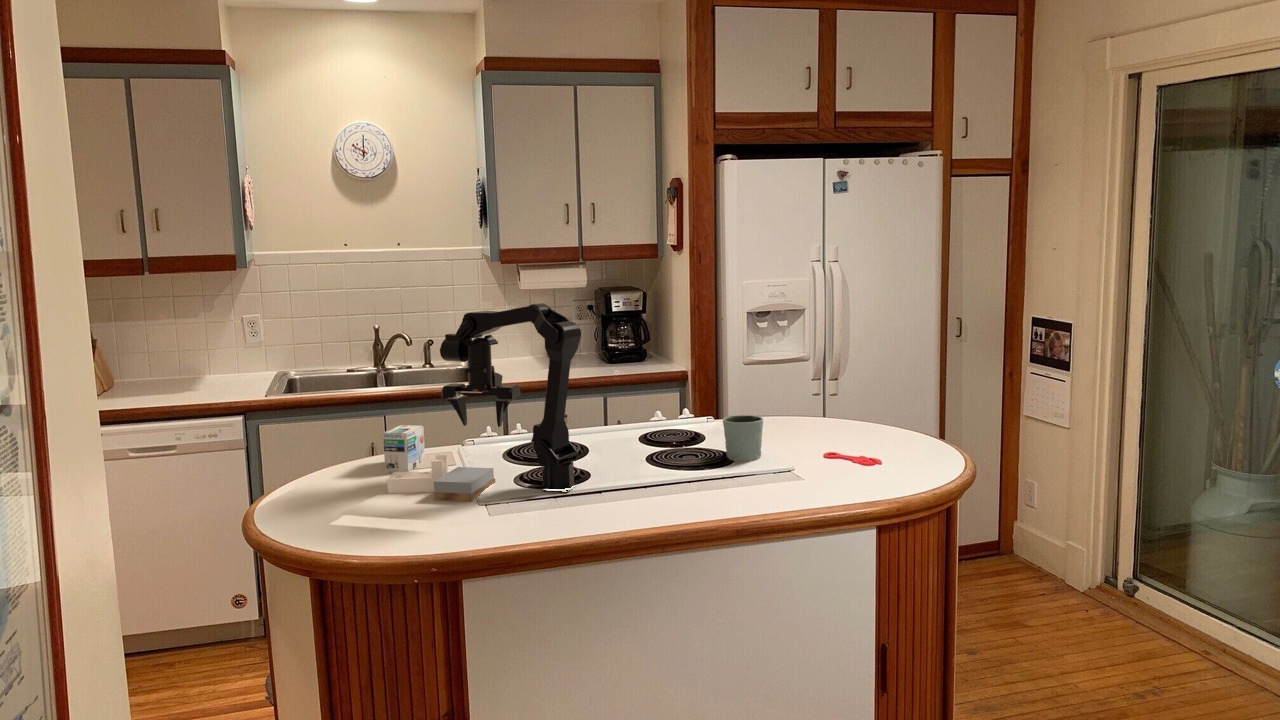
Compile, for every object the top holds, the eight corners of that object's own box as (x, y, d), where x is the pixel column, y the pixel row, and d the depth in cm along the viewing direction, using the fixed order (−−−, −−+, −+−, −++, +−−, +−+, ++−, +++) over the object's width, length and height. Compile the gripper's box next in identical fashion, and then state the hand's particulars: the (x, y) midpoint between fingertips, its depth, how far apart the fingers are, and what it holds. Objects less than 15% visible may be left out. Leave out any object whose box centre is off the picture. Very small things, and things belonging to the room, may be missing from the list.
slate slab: (493, 478, 233) (493, 468, 232) (471, 493, 219) (471, 482, 219) (458, 477, 235) (458, 466, 234) (434, 492, 221) (433, 481, 221)
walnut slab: (495, 488, 233) (495, 478, 232) (471, 504, 219) (470, 493, 219) (461, 486, 235) (460, 476, 235) (434, 502, 222) (433, 491, 221)
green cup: (769, 462, 251) (769, 416, 249) (752, 470, 242) (752, 423, 241) (734, 458, 256) (734, 413, 255) (716, 466, 248) (715, 420, 246)
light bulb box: (408, 475, 246) (406, 433, 244) (384, 474, 247) (381, 432, 246) (426, 465, 256) (424, 424, 255) (402, 464, 257) (400, 424, 256)
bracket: (448, 484, 236) (447, 454, 235) (443, 492, 229) (442, 460, 228) (394, 486, 236) (393, 455, 235) (388, 494, 229) (386, 462, 228)
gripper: (528, 359, 243) (530, 421, 245) (459, 358, 248) (462, 418, 250) (510, 365, 232) (512, 429, 234) (439, 364, 237) (442, 427, 239)
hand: (482, 426), depth 239 cm, fingers open, 9 cm apart
